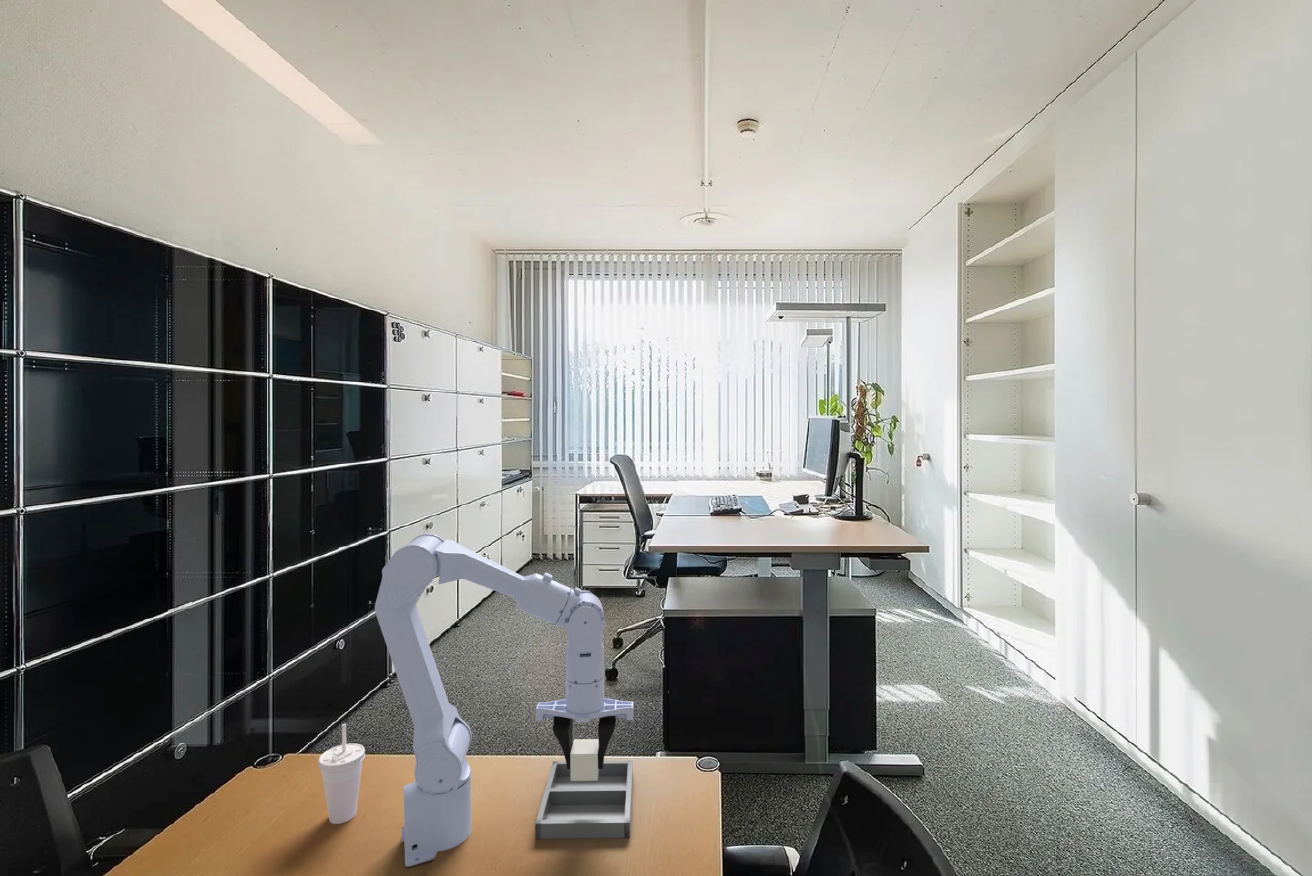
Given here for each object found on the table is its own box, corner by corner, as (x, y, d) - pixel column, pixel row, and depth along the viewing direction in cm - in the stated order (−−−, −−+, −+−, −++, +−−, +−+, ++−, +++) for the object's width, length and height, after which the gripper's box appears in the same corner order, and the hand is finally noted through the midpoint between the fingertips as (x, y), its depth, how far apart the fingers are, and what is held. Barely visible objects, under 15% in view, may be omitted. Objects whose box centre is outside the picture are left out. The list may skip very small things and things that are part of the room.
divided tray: (535, 844, 83) (535, 823, 83) (553, 778, 99) (553, 761, 99) (629, 843, 84) (629, 822, 84) (632, 777, 99) (632, 760, 99)
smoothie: (374, 803, 93) (373, 717, 92) (349, 831, 86) (348, 738, 86) (336, 801, 93) (335, 715, 93) (309, 828, 87) (307, 736, 87)
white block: (570, 780, 86) (570, 754, 86) (574, 765, 90) (573, 739, 90) (597, 780, 86) (597, 753, 86) (600, 764, 90) (599, 739, 90)
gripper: (531, 688, 83) (532, 782, 84) (632, 687, 83) (632, 781, 84) (540, 668, 90) (541, 754, 91) (633, 667, 91) (634, 753, 91)
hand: (585, 765), depth 88 cm, fingers closed on white block, 4 cm apart
